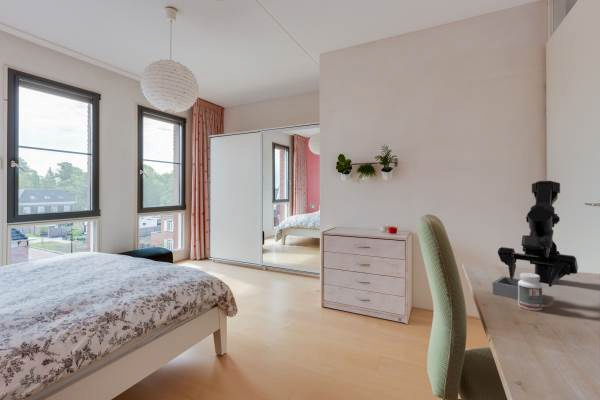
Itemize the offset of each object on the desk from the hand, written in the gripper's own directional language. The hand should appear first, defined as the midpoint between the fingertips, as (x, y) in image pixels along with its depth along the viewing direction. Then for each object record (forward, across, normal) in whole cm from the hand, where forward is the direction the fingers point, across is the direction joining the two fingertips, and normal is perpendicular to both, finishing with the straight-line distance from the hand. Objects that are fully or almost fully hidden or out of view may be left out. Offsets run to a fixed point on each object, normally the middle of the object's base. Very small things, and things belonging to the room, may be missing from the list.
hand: (529, 282), depth 84 cm
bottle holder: (-1, -6, +12) cm, 13 cm away
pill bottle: (+5, 0, +6) cm, 8 cm away
